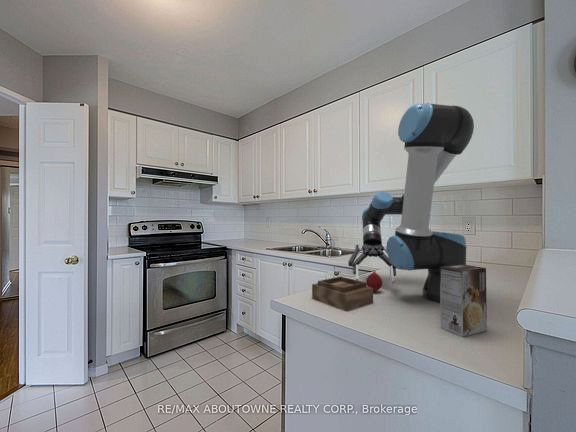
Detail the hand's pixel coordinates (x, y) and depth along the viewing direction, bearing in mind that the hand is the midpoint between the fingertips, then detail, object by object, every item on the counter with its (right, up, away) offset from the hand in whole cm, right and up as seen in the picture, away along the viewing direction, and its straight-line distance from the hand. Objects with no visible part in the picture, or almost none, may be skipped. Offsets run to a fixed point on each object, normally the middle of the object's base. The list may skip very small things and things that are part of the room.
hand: (374, 281), depth 103 cm
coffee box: (+12, -5, -32) cm, 35 cm away
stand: (-14, -5, -8) cm, 17 cm away
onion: (+1, -5, +2) cm, 5 cm away
